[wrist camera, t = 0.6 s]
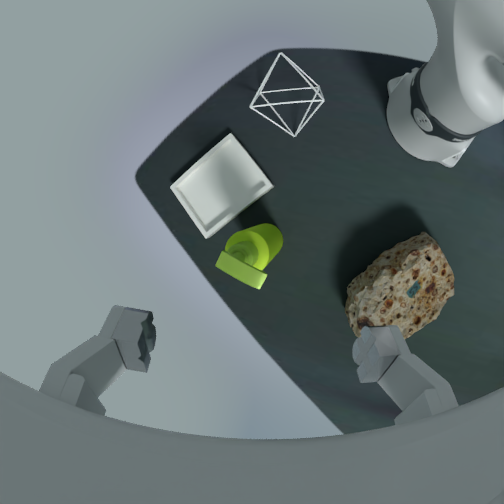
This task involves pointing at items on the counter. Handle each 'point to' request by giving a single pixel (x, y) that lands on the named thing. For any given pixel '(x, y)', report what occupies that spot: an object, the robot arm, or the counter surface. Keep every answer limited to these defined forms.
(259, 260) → the soap dispenser
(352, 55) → the counter surface
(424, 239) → the rock
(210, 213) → the tray
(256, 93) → the geometric polyhedron
